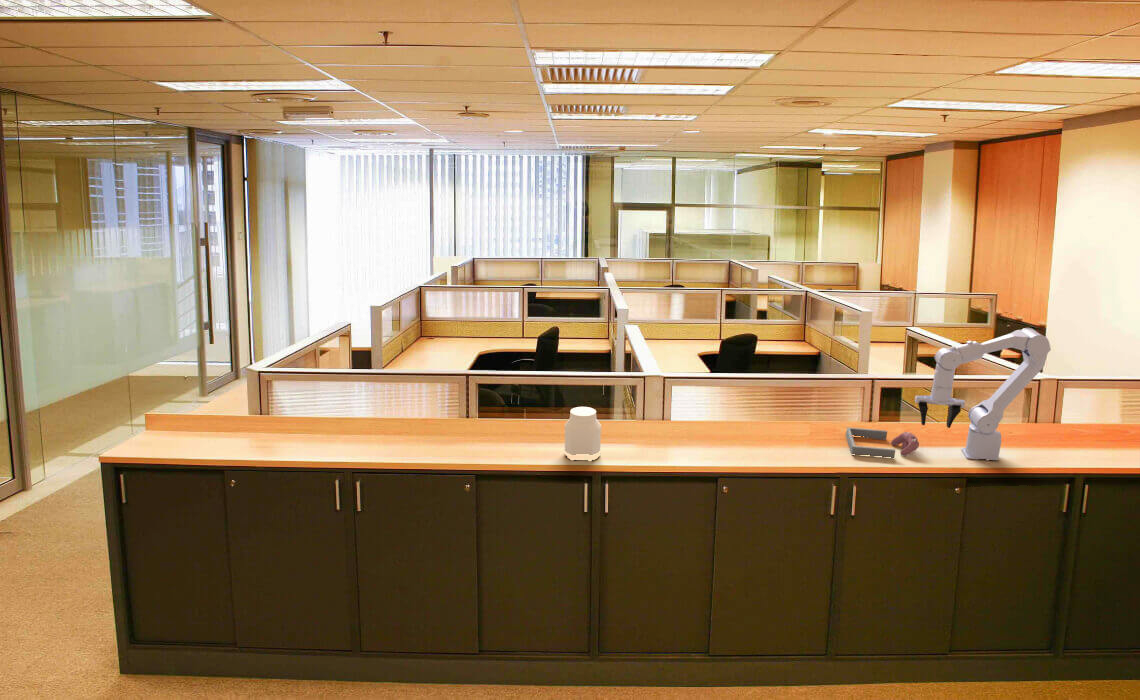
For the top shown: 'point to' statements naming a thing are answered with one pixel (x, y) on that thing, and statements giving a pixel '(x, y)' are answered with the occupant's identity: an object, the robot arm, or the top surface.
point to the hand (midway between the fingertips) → (935, 425)
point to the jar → (582, 432)
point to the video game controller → (906, 442)
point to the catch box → (868, 450)
